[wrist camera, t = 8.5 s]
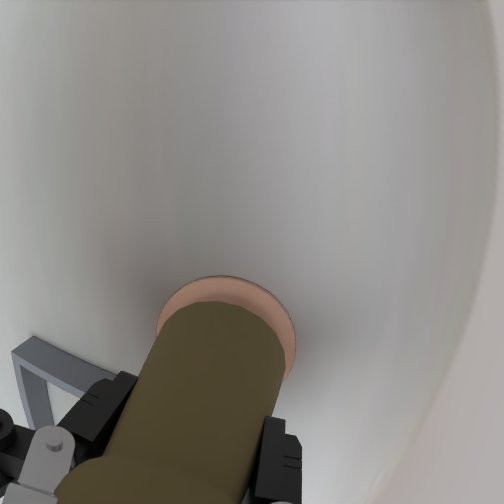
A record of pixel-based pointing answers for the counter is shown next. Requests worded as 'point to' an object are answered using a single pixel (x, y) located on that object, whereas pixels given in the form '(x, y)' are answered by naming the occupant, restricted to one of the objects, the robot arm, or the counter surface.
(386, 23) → the counter surface
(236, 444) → the cork
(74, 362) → the bin frame
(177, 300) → the salmon pink disc
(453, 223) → the counter surface
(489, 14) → the counter surface
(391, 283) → the counter surface
